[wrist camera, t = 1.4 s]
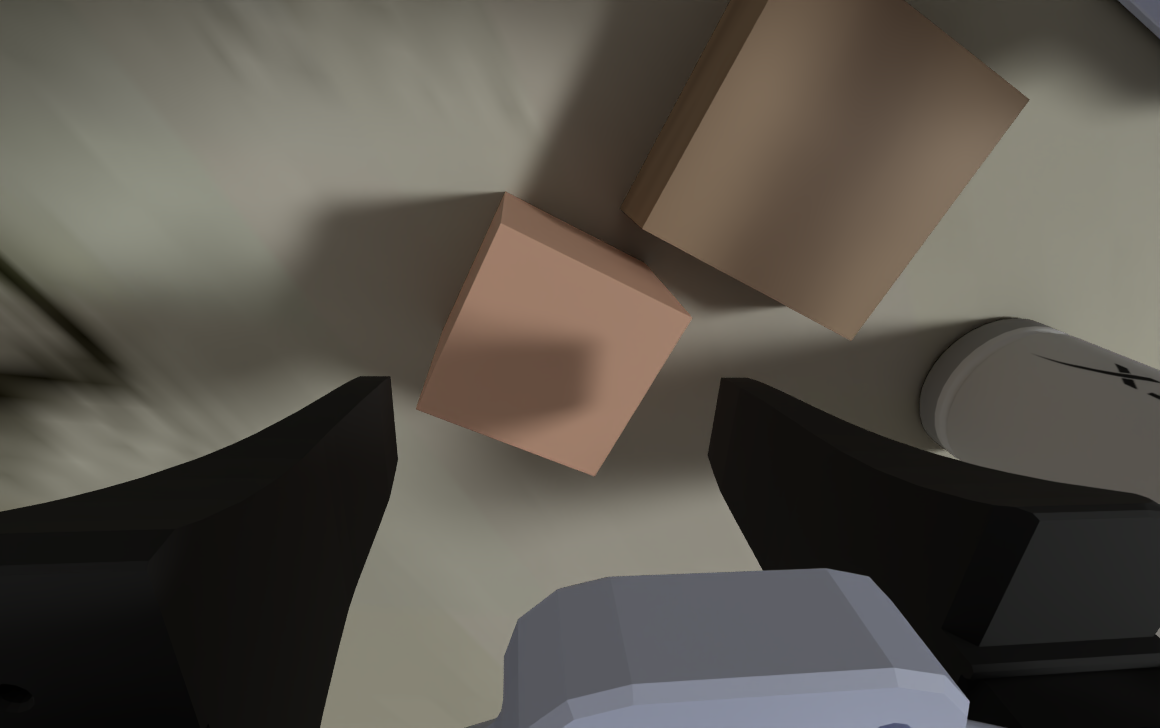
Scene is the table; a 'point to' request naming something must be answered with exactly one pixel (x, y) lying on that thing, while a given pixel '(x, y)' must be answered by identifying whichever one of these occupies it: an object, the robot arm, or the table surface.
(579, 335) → the terracotta block
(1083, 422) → the travel mug
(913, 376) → the table surface
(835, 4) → the walnut block
